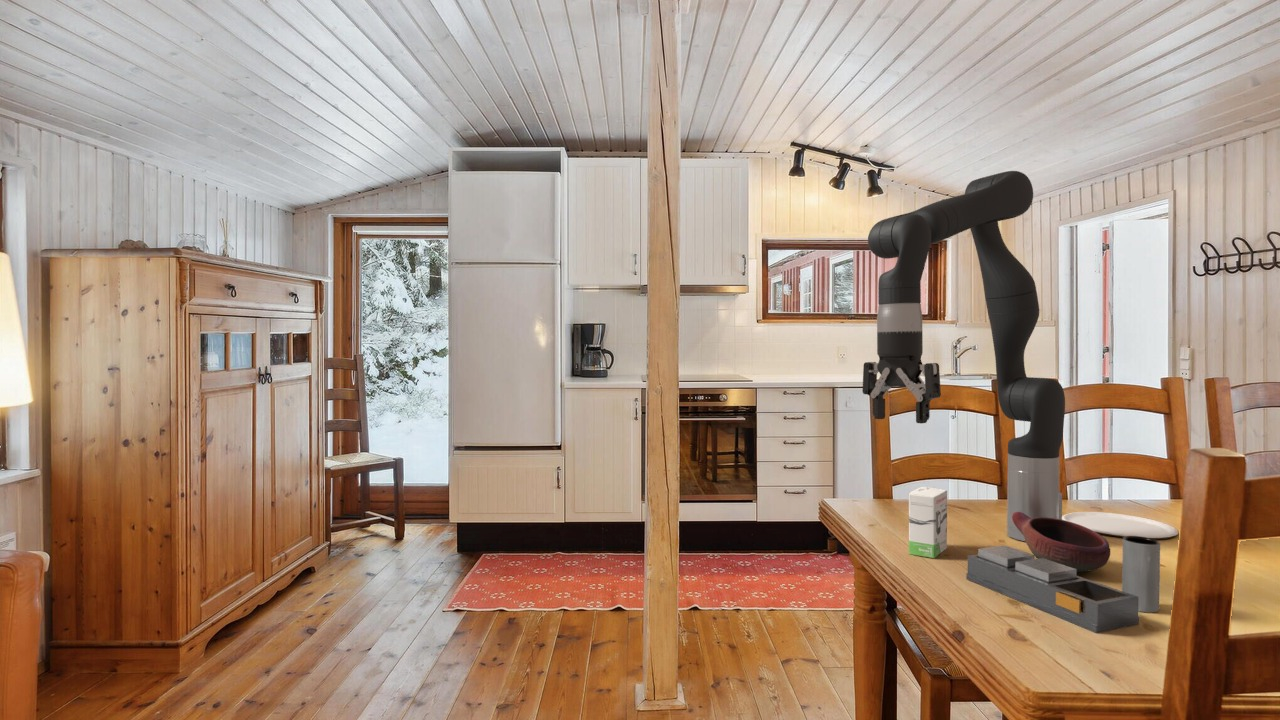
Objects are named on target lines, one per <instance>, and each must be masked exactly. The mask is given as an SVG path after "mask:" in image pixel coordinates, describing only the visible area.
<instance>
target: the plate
mask: <svg viewBox="0 0 1280 720" xmlns="http://www.w3.org/2000/svg"><path fill="white" fill-rule="evenodd" d="M1062 520H1065V521H1069V522H1072V523H1075V524H1079V525H1081V526H1084V527H1086V528H1088V529H1090V530H1092V531H1094V532H1096V533H1098V534H1099V535H1101V536H1103V535H1104V536H1108V537H1115V538H1121V539H1123V537H1125V536H1140V537H1146V538H1151V539H1154V540H1164V539H1165V540H1166V539H1170V538H1175V537H1177V536H1178V535H1179V531H1178V530H1177V528H1175V527H1173V526H1172V525H1170V524H1167V523H1164V522H1161V521H1158V520H1153V519H1150V518H1145V517H1141V516H1140V517H1139V516H1136V515H1131V514H1130V515H1129V514H1123V513H1114V512H1100V511H1076V512H1070V513H1066V514H1064V515H1062Z"/></svg>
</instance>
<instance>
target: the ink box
mask: <svg viewBox="0 0 1280 720" xmlns="http://www.w3.org/2000/svg"><path fill="white" fill-rule="evenodd" d="M947 547H948V490H947V489H940V488H935V487H928V486H919V487H918V488H916V489H914V490H912V491H910V492H909V494H908V554H909V555H913V556H919V557H925V558H931V559H935V558H937V557H938V556H939V555H940V554H941V553H943V552H944V551H945V550H946V549H947Z"/></svg>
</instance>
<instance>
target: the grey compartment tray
mask: <svg viewBox="0 0 1280 720" xmlns="http://www.w3.org/2000/svg"><path fill="white" fill-rule="evenodd" d="M977 550H978V552H977V553H976V554H971V555H967V572H966V575H965V576H966V580H968V581H970V582H972V583H975V584H977V585H979V586H982V587H985V588H986V589H989V590H991V591H993V592H996V593H999V594H1002V595H1003V596H1006V597H1008V598H1010V599H1014V600H1015V601H1018V602H1021V603H1022V604H1025V603H1026V604H1025V605H1027V604H1028V606H1029V607H1033V608H1034V609H1037V610H1040V611H1042V612H1045V613H1046V614H1050V615H1052V616H1054V617H1057V618H1059V619H1061V620H1064V621H1066V622H1069V623H1071V624H1074V625H1076V626H1079V627H1080V628H1083V629H1085V630H1089V631H1090V632H1092V633H1095V634H1098V633H1102V632H1103V633H1104V632H1107V631H1113V630H1117V629H1122V628H1128V627H1133V626H1138V625H1140V616H1139V611H1138V596H1135V595H1132V594H1129V593H1126V592H1123V591H1122V590H1120V589H1117V588H1114V587H1110V586H1108V585H1105V584H1101V583H1099V582H1096V581H1094V580H1091V579H1088V578H1084V577H1083V576H1082V577H1081V576H1079V575H1077V572H1076V571H1077V569H1074V568H1071V567H1068V566H1065V565H1062V564H1059V563H1056V562H1053V561H1050V560H1047V559H1044V558H1039V559H1038V558H1035V556H1034V554H1033V553H1028V552H1025V551H1023V550H1019V549H1017V548H1014V547H1010V546H1007V545H1005V544H1004V545H997V546H990V547H982V548H978V549H977Z"/></svg>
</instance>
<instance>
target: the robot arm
mask: <svg viewBox="0 0 1280 720" xmlns="http://www.w3.org/2000/svg"><path fill="white" fill-rule="evenodd" d="M1033 200H1034V188H1033V185H1032V182H1031V179H1030V178H1029V177H1028V176H1027V175H1026V174H1025V173H1023V172H1021V171H1017V170H1009V171H1003V172H999V173H996V174H995V173H994V174H991V175H988V176H983V177H980V178H977V179H974V180H971V181H970V182H969V183H968V184H967V186H966V187H965V190H964V194H961V195H955V196H953V197H947V198H945V199H941V200H939V201H935V202H932V203H930V204H927V205H925V206H921V208H918V209H915V210H913V211H911V212H907V213H903V214H899V215H895V216H891V217H888V218H883V219H882V220H880V221H877V222H876V223H875V224H874V225H873V226H872V227H871V228H870V230H869V233H868V236H867V244H868V247H869V250H870V251H871V252H872V254H873V255H875V256H876V257H878V258H881V259H886V260H887V259H896V258H897V261H896V263H895V266H894V267H893V268H891V269H890V270H887V271H885V272H883V273H882V274H880V276H879V278H878V285H877V286H878V291H877V292H878V295H877V297H878V298H877V299H878V300H877V301H878V307H877V316H876V317H877V318H876V335H877V336H876V347H877V348H876V352H877V353H876V354H877V356H878V358H879V359H878V362H876V361H868V362H864V363H863V369H862V370H863V372H862V375H863V376H862V394H863V395H868V396H870V397H871V399H872V414H873V415H872V416H874V419H875V420H884V419H885V418H886V398H884V397H885V396H886V394H887V392H888V391H889V390H890V389H892V388H893V387H895V388H896V387H898V388H907V390H908V391H909V392H911V393H912V394H913V396H914V398H915V399H916V402H915V421H916V424H927V422H928V421H929V419H930V418H931V417H930V415H931V414H930V403H931V401H932V400H935V399H938V398H940V397H941V396H942V394H941V377H940V374H941V373H940V365H939V363H938V362H929V363H924V364H923V362H922V355H923V344H924V343H923V313H922V312H923V311H922V301H921V300H922V297H921V295H922V289H921V287H922V285H921V283H922V282H921V281H922V277H923V273H924V270H925V266H926V262H927V259H928V255H929V251H930V248H931V245H933V244H937V243H939V242H941V241H944V240H947V239H949V238H952V237H953V236H956V235H958V234H960V233H963V232H965V231H967V230H969V229H970V232H971V235H972V239H973V242H974V247H975V249H976V250H975V251H976V253H977V258H978V263H979V268H980V272H981V274H980V275H981V278H982V279H981V280H982V285H983V292H984V298H985V304H986V309H987V310H986V311H987V315H988V320H989V324H990V330H991V336H992V343H993V350H994V351H993V352H994V357H995V358H994V359H995V371H996V389H997V398H998V402H999V403H998V404H999V407H1000V409H1001V412H1002V413H1003V415H1004V416H1005V417H1007V418H1008V419H1009V420H1012V421H1021V422H1029V423H1030V424H1029V430H1028V432H1027V433H1026V434H1023V435H1022V436H1019V437H1015V438H1011V439H1010V440H1008V442H1007V489H1006V490H1007V492H1006V493H1007V498H1006V499H1007V501H1006V502H1007V503H1006V504H1007V505H1006V510H1007V511H1006V534H1007V536H1008V537H1010V538H1012V539H1014V540H1019V541H1022V542H1026V541H1025V538H1024V536H1023V534H1022V533H1021V532H1020V531H1019V529H1018V528H1017V527H1016V526H1015V524H1014V523H1013V520H1012V516H1013V513H1015V512H1022V513H1024V514H1025V515H1027V516H1028V517H1030V518H1037V517H1048V518H1056V519H1061V520H1062V516H1063V494H1062V492H1060V451H1061V446H1062V443H1063V440H1064V439H1063V438H1064V427H1065V426H1064V424H1065V412H1066V411H1065V410H1066V397H1065V390H1064V388H1063V386H1062V384H1061V383H1060V382H1059V381H1058V380H1057V379H1054V378H1049V377H1029V376H1027V374H1026V369H1025V368H1026V367H1025V351H1026V347H1027V345H1028V343H1029V340H1030V338H1031V336H1032V334H1033V332H1034V330H1035V328H1036V325H1037V323H1038V320H1039V317H1040V304H1039V298H1038V292H1037V285H1036V281H1035V280H1034V279H1035V278H1034V277H1033V276H1032V275H1031V273H1030V272H1029V271H1028V269H1027V268H1026V267H1025V266H1024V265H1023V264H1022V263H1021V262H1020V261H1019V260H1018V259H1017V258H1016V257H1015V256H1014V254H1013V253H1012V252H1011V251H1010V249H1009V248H1008V247H1007V246H1006V243H1005V242H1004V240H1003V236H1002V233H1001V230H1000V225H999V222H1001V221H1005V220H1010V219H1015V218H1017V217H1020V216H1022V215H1024V214H1026V212H1027V211H1028V210H1029V209H1030V208H1031V206H1032V204H1033ZM878 374H880V375H879V378H878ZM921 374H922V375H923V376H924V381H923V380H922V378H921Z"/></svg>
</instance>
